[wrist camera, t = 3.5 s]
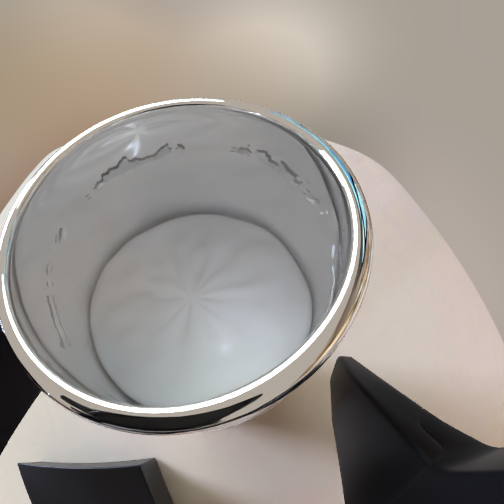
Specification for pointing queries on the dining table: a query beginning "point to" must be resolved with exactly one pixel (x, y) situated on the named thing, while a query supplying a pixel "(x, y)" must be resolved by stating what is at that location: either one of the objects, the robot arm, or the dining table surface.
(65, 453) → the dining table surface
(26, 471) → the hob panel
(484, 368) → the dining table surface
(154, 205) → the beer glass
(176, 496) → the dining table surface
